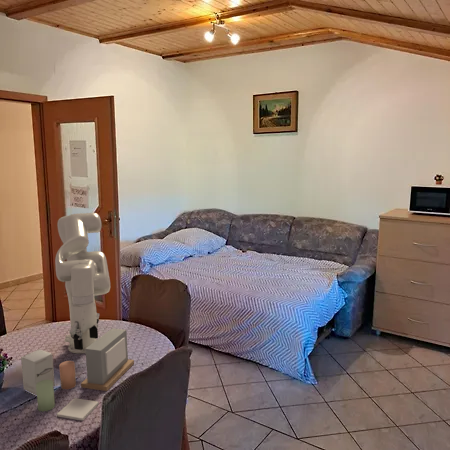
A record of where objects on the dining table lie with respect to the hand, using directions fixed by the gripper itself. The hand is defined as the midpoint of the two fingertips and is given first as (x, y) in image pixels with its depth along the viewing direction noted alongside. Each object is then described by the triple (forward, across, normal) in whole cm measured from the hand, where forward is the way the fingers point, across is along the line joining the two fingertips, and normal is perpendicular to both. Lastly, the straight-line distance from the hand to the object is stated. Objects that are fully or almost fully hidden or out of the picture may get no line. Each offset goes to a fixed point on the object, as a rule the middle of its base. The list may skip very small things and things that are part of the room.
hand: (86, 343), depth 156 cm
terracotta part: (+11, +10, -2) cm, 15 cm away
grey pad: (+11, +22, +10) cm, 27 cm away
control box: (+11, 0, +8) cm, 14 cm away
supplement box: (+12, +14, -10) cm, 21 cm away
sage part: (+11, +23, 0) cm, 26 cm away
